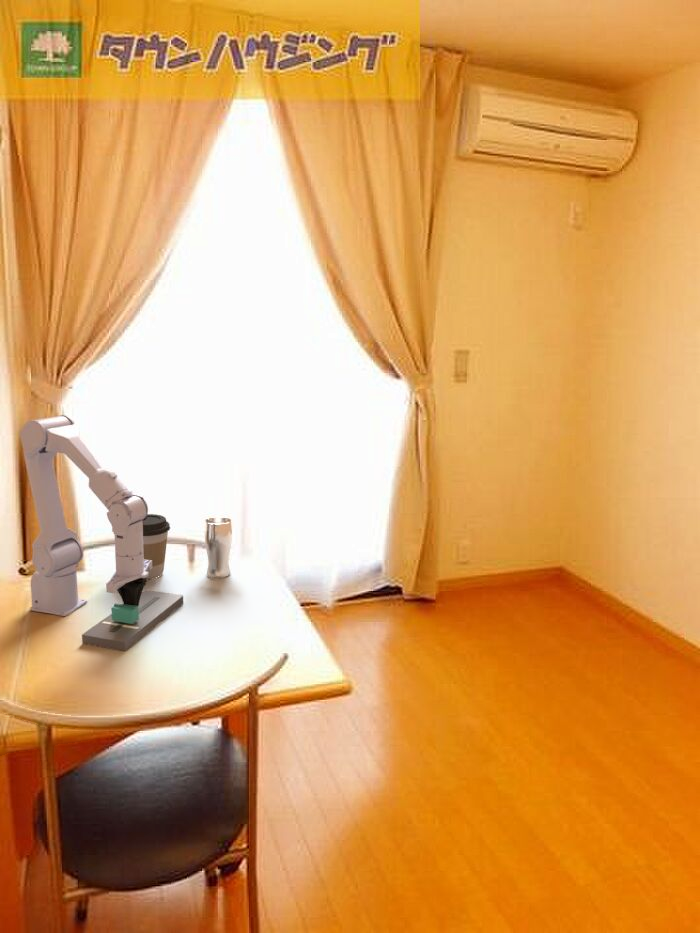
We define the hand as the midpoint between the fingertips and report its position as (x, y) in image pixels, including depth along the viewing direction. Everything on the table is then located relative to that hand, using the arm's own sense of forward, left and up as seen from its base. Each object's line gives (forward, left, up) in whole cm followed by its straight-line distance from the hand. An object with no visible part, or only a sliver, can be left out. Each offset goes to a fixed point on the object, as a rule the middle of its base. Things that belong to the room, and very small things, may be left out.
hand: (131, 610), depth 143 cm
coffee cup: (-12, +27, -4) cm, 29 cm away
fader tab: (0, -2, -1) cm, 3 cm away
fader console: (0, +2, -3) cm, 4 cm away
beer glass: (+5, +33, -4) cm, 33 cm away
